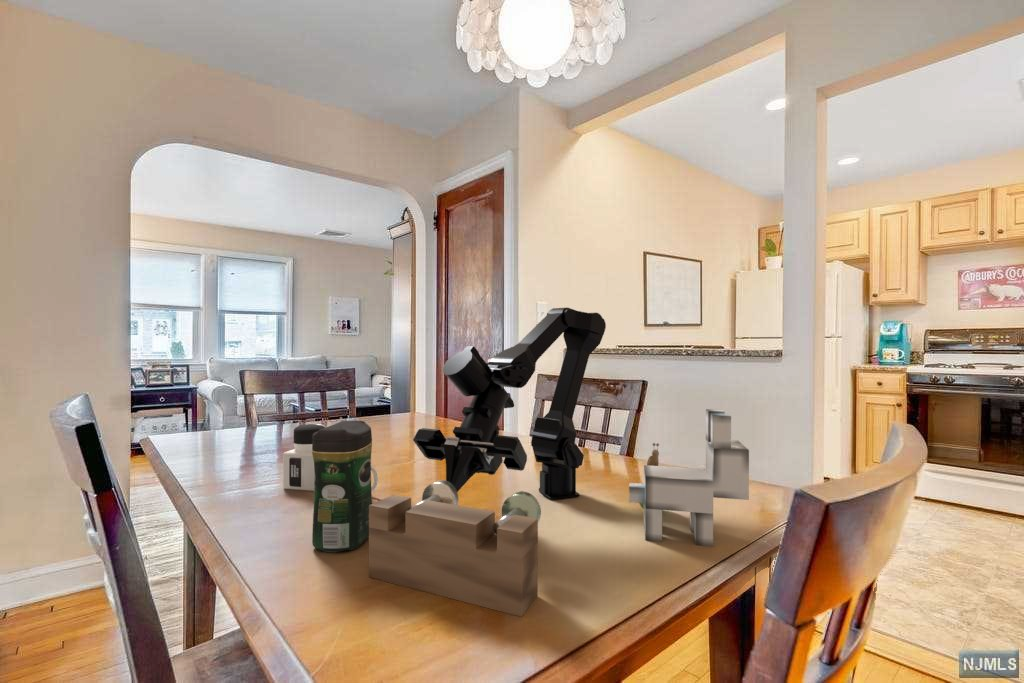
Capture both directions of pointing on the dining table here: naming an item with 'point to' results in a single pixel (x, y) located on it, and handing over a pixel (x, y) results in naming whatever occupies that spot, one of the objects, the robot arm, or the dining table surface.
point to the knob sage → (519, 508)
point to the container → (300, 459)
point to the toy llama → (696, 483)
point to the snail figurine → (652, 462)
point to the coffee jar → (341, 485)
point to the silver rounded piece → (439, 493)
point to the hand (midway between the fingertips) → (449, 495)
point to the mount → (455, 552)
